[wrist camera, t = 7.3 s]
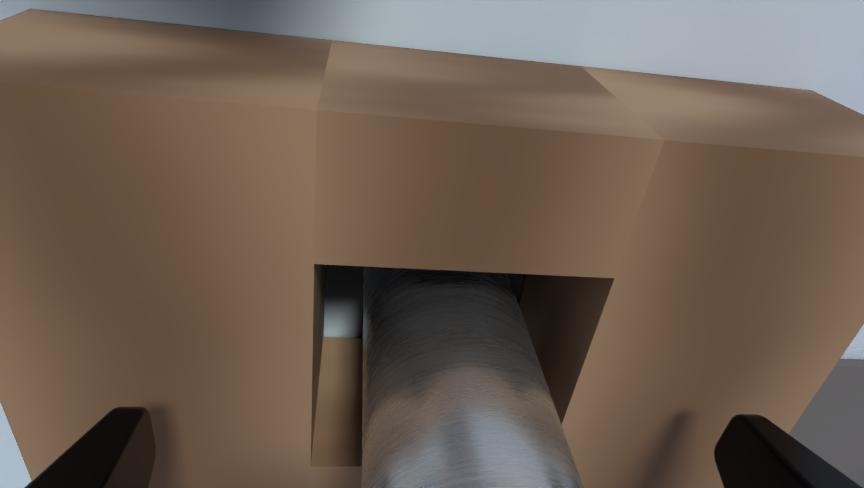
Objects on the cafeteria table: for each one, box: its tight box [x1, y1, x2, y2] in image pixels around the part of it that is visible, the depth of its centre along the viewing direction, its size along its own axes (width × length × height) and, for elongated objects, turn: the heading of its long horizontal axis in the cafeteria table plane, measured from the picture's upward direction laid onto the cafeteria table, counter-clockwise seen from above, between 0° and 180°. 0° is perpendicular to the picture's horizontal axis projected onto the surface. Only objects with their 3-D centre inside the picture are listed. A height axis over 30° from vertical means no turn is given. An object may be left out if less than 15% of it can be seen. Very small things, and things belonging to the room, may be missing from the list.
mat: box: [789, 359, 864, 488], centre depth 17 cm, size 8×8×1 cm
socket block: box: [0, 9, 864, 488], centre depth 11 cm, size 14×9×4 cm, turn 83°
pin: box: [362, 266, 584, 488], centre depth 8 cm, size 4×4×10 cm
